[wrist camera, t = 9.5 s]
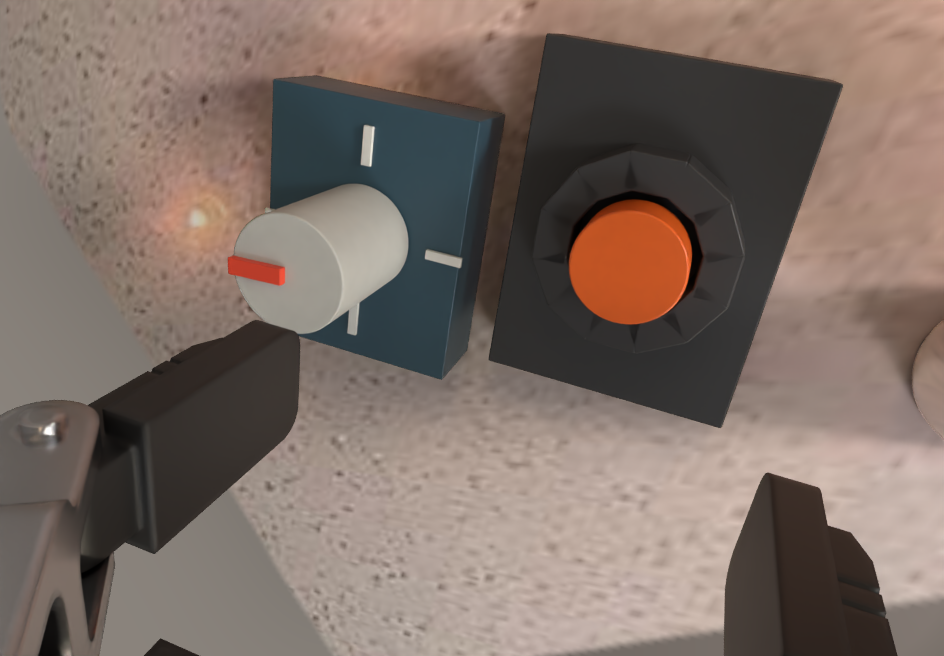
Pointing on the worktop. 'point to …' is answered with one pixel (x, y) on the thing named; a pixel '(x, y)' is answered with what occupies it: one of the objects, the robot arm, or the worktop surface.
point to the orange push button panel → (670, 185)
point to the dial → (319, 256)
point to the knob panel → (413, 193)
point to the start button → (631, 262)
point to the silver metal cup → (930, 379)
